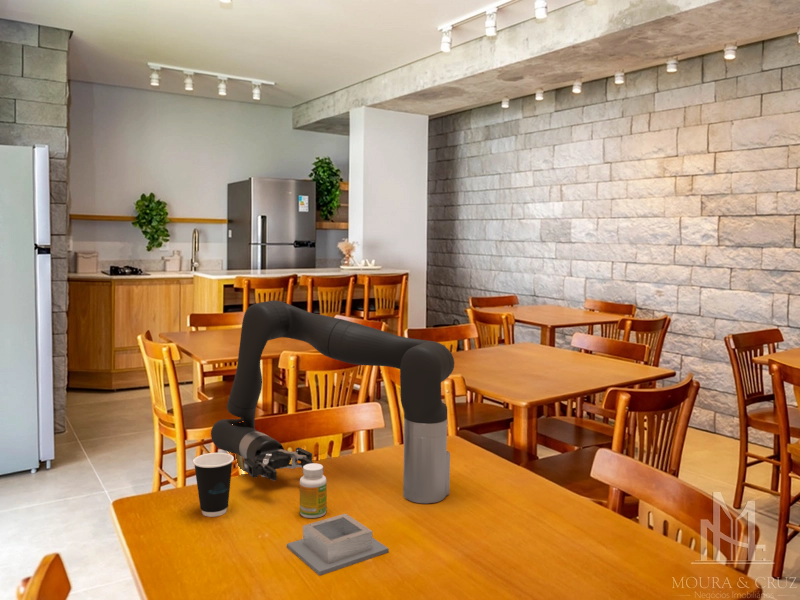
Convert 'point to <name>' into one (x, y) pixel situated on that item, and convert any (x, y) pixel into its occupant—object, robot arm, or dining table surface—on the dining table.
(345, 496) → the dining table surface
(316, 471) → the supplement bottle
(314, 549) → the socket board
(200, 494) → the dixie cup
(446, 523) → the dining table surface
